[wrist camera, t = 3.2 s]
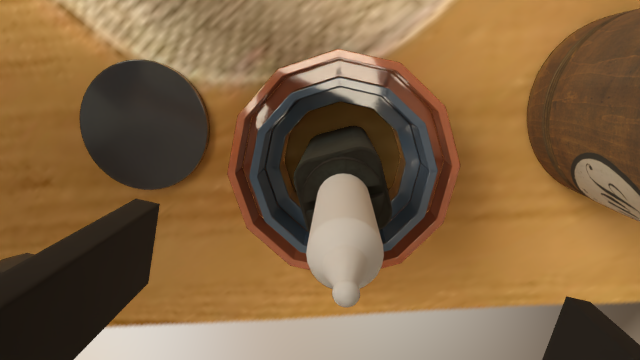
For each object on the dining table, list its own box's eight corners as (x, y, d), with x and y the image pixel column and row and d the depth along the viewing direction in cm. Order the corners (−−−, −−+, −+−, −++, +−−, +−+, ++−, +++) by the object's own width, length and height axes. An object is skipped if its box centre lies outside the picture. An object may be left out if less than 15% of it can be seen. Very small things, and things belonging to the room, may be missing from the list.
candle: (377, 179, 38) (448, 356, 13) (320, 193, 38) (287, 389, 14) (363, 122, 37) (412, 198, 12) (305, 137, 37) (239, 240, 13)
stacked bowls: (229, 228, 39) (208, 256, 33) (264, 36, 35) (248, 26, 29) (411, 269, 39) (425, 304, 33) (465, 82, 36) (493, 82, 29)
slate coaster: (77, 173, 39) (73, 174, 38) (90, 46, 36) (85, 45, 36) (198, 200, 39) (196, 202, 38) (219, 76, 36) (217, 76, 36)
